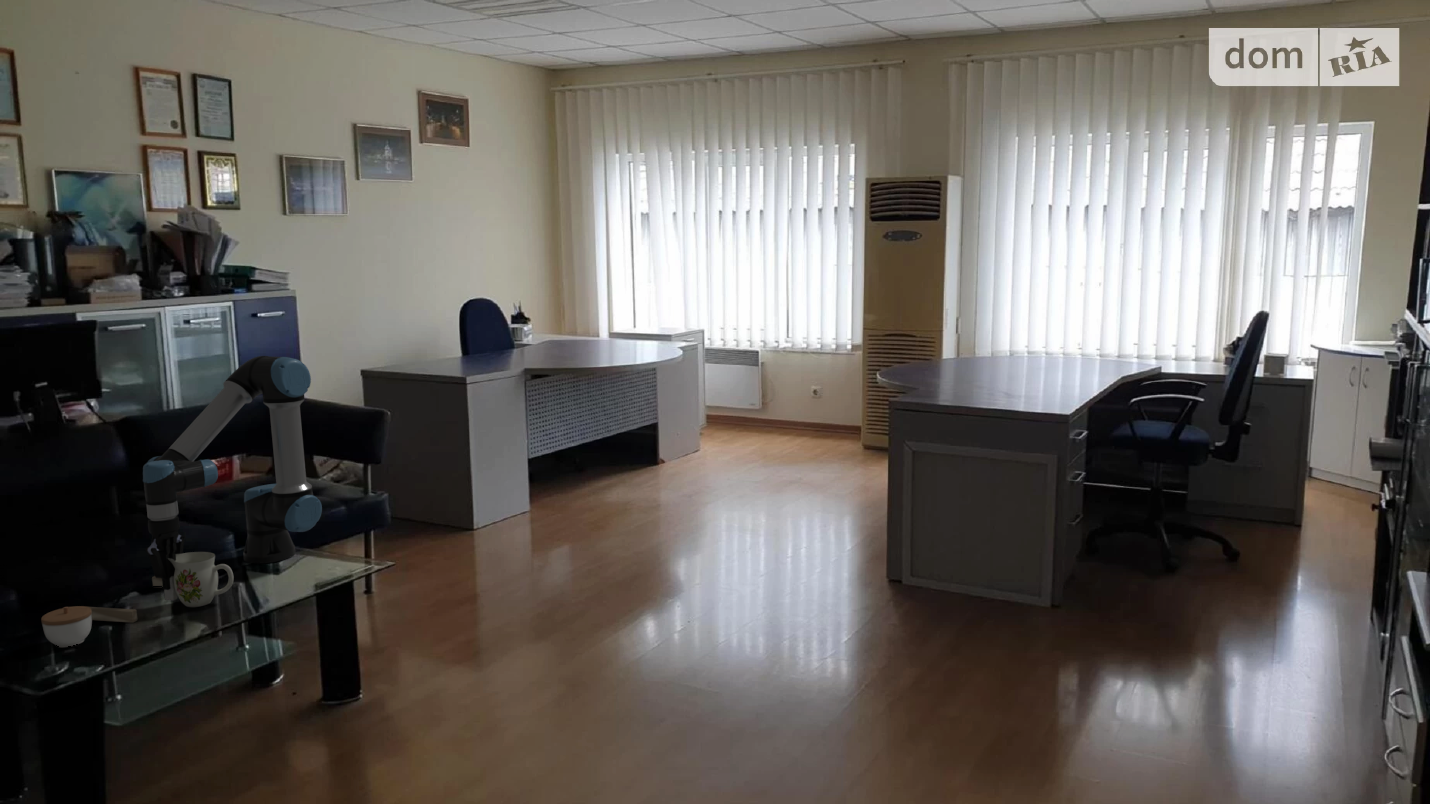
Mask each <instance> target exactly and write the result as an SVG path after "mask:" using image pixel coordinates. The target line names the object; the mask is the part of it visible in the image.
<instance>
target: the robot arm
mask: <svg viewBox="0 0 1430 804" xmlns="http://www.w3.org/2000/svg"><path fill="white" fill-rule="evenodd" d="M311 378H312V377H311V373H310V370H309V369H308V367H307V365H306V364H305V363H303V361H301V360H299V359H297V358H292V357H289V356H269V355H259V356H254V357H252V358H250V359H248V360H247V361H245V362H244V363H242V364H241V365H240V366H239V367H237V368H236V369H235V370H234V371H233V372H232V373H231V374H230V375H229V376H228V377H227V378H226V380H224V382H223V383H222V384H223V389H221V390H220V391H219V392H218V394H217V395H215V397H214V398H213V399H212V400H211V401H210V403H209V404H208V405H207V406H206V407H205V408H204V409H203V411H201V412H200V413H199V415H198V416H197V417H196V418H195V419H194V420H193V421H192V422H191V424H190V425H189V426H188V427H186V429H185V430H184V431H183V432H182V433H181V434H180V435H179V436H178V437H177V439H176V440H175V441H174V442H173V443H172V444H171V445H170V447H169V448H167V449H166V451H165V452H164V453H163V454H162V455H158V456H153V457H152V458H150V459H149V460H147V462H146V463H145V464H144V465H143V467H142V482H143V490H144V498H145V505H146V512H147V513H146V514H147V518H148V520H147V528H148V529H147V530H148V533H149V534H150V535H151V540H150V541H151V545H150V546H149V547H148V546H147V547H145V550H144V551H145V552H146V554H147V556H148V559H149V562H150V564H151V568H152V571H153V574H154V576H155V577H156V578H161V579H162V584H163V588H162V589H163V590H164V591H163V592H164V600H165V601H176V600H178V595H177V593H176V590H175V586H174V573H175V568H174V565H173V564H172V563H171V561H169V560H168V558H170V559H173V560H174V561H176V554H183V553H184V544H185V541H186V536H185V535H181V534H179V531H178V530H180V527H181V525H180V518H179V516H178V515H179V506H178V496H177V494H178V493H181V492H186V491H191V490H195V489H200V488H205V487H209V486H210V485H211V486H212V485H213V484H215V483H216V482H217V481H218V477H219V473H218V467H217V465H216V463H215V462H214V461H213V460H211V459H209V458H207V459H199V460H196V459H197V458H198V457H199V456H200V455H201V453H202V452H203V451H204V450H205V449H206V448H207V447H208V446H209V445H210V443H212V441H213V440H214V439H215V438H216V437H217V436H218V434H219V433H220V432H221V431H222V430H223V429H224V428H225V427H226V426H227V424H229V422H230V421H231V420H232V419H233V418H234V417H235V416H236V414H237V413H238V412H239V411H240V410H241V409H242V408H243V406H244V405H245V404H250V403H252V401H253V400H254V399H255V398H256V397H258V396H260V395H262V401H263V404H264V405H265V406H266V407H268V409H269V415H270V416H269V418H270V426H271V427H270V430H271V438H272V449H273V461H274V472H275V483H270V484H269V483H268V484H264V485H263V484H262V485H258V486H254V487H251V488H248V489H246V490H245V492H244V493H243V503H244V510H245V511H244V513H245V521H246V523H245V524H246V532H247V537H246V541H245V546H244V549H243V552H242V553H243V561H245V562H246V563H249V564H269V563H270V564H271V563H275V562H276V563H277V562H280V561H283V560H287V559H290V558H292V557H293V556H295V555H296V546H295V544H294V542H293V540H292V537H291V535H290V533H289V532H291V533H293V532H294V533H297V532H298V533H304V532H308V531H309V530H311V529H313V527H315V526H316V525H317V522H319V520H320V519H321V516H322V512H323V507H322V506H323V505H322V502H321V500H320V499H318V497H317V496H315V495H314V493H313V491H314V490H313V485H312V484H311V483H309V482H308V481H307V473H306V462H305V450H304V438H303V430H302V429H303V428H302V417H301V415H302V414H301V404H302V403H303V402H304V401H305V394H306V393H307V392H308V389H309V388H310V387H311V382H312V381H311V380H312V379H311ZM195 460H196V461H195Z"/></svg>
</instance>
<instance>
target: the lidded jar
mask: <svg viewBox="0 0 1430 804" xmlns="http://www.w3.org/2000/svg"><path fill="white" fill-rule="evenodd" d="M89 607H90V606H86V605H85V606H84V605H81V606H80V605H79V606H78V605H77V606H76V605H75V606H64V607H62V608H58V609H55V610H52V611H50V612H47V613H46V614H44V615H42V617H41V620H40V621H41V625H42V629H43V633H44V636H45V638H46V639H47V640H48V641H49V642H50V643H51V644H53V645H55V646H56V645H57V646H59V647H58V648H69V647H68V646H71V647H74V646H73V645H75V646H77V645H76V644H78V645H79V644H82V643H84V642H85V640H86V638H87V637H88V635H89V634H90V633H91V629H92V624H93V620H92V615H91V614H92V611H91V608H89ZM57 646H56V647H57Z"/></svg>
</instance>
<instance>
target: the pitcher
mask: <svg viewBox="0 0 1430 804" xmlns="http://www.w3.org/2000/svg"><path fill="white" fill-rule="evenodd" d="M215 559H216V554H215V553H213V552H210V551H194V552H193V551H192V552H191V551H190V552H185V553H184V552H183V554H176V561H174V560H173V559H170V558H168V560H169V561H171V563H172V564H173V565H174V568H175V573H174V586H175V590H176V593H177V598H178V599H179V600H180V602H181V603H182V604H183V605H184V606H185V607H187V608H198V607H203V606H206V605H209V604H211V602H212V600H213V599H214V597H216V596H218V595H222V594H225V593H226V592H227V591H229V590H230V589H231V588H232V586H233V585H234V573H233V570H232V568H231V567H230V566H229V565H228V564H225V563H220V564H217V565H215ZM218 570H225V571H226V573H227V576H228V581H227V584H226V585H225V586H224V587H222V588H221V589H218V587H219V586H218V585H219V573H218Z"/></svg>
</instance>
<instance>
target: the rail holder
mask: <svg viewBox="0 0 1430 804" xmlns="http://www.w3.org/2000/svg"><path fill="white" fill-rule="evenodd" d="M151 581H152V582H151V583H152V587H153V586H162V587H163V584H162V579H161V578H156V577H155V575H154V576H152V578H151ZM162 587H161V588H162ZM88 607H89V608H91V611H92V614H91V615H92V621H100V622H101V621H102V622H103V621H104V622H116V623H117V622H118V623H119V622H120V623H135V622H137V621H138V613H137V612H138V611H137V609H134V608H133V609H132V608H118V607H117V608H115V607H114V608H113V607H98V606H97V607H96V606H88Z"/></svg>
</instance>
